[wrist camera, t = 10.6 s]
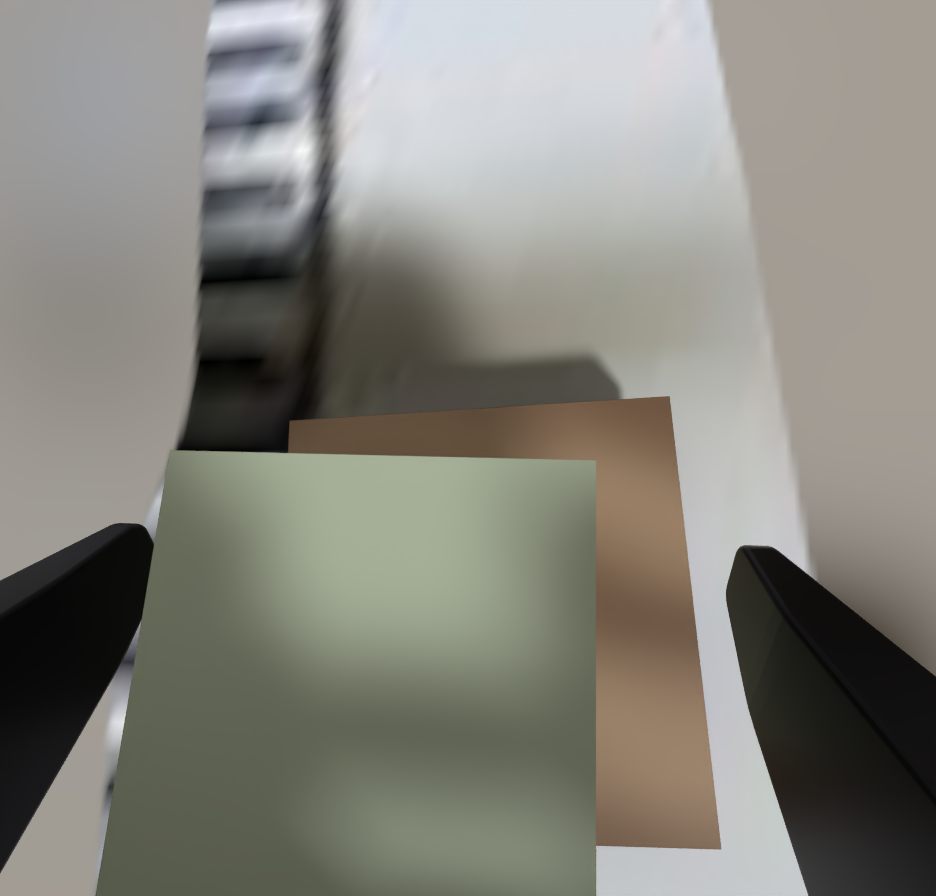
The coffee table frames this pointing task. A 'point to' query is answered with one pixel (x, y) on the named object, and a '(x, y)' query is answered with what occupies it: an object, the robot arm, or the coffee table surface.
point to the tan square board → (601, 592)
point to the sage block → (362, 681)
